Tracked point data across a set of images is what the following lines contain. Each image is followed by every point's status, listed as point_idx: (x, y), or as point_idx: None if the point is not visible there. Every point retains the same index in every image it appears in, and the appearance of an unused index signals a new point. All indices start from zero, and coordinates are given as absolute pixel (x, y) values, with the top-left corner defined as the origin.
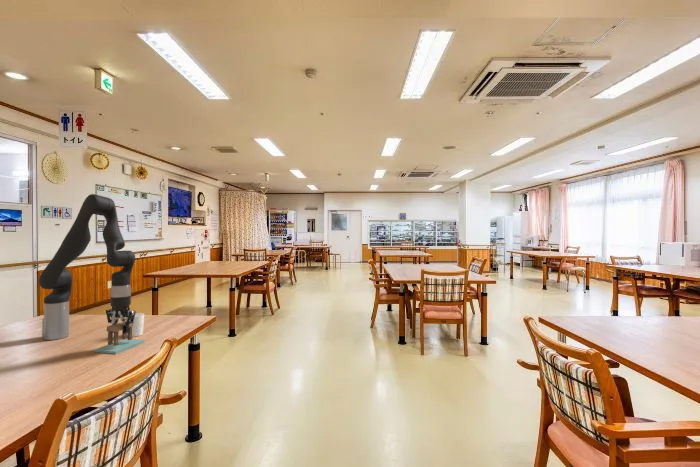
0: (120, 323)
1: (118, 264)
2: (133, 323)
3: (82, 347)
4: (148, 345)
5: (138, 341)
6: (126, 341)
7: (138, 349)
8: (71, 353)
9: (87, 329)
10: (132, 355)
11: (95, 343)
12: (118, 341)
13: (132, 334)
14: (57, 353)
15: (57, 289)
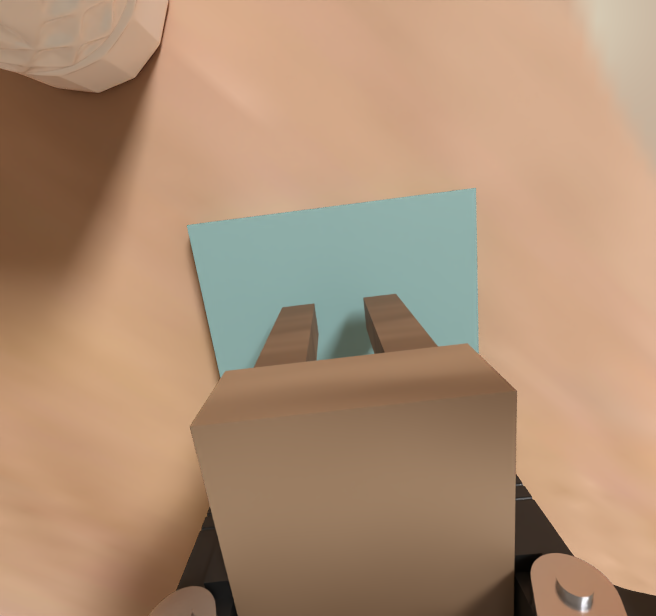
0: (315, 590)
1: None
2: (496, 376)
3: (50, 485)
4: (586, 246)
5: (441, 245)
6: (312, 294)
7: (574, 364)
8: (134, 583)
9: None
10: (634, 476)
11: (25, 385)
12: (229, 323)
13: (121, 66)
14: (44, 609)
15: None
